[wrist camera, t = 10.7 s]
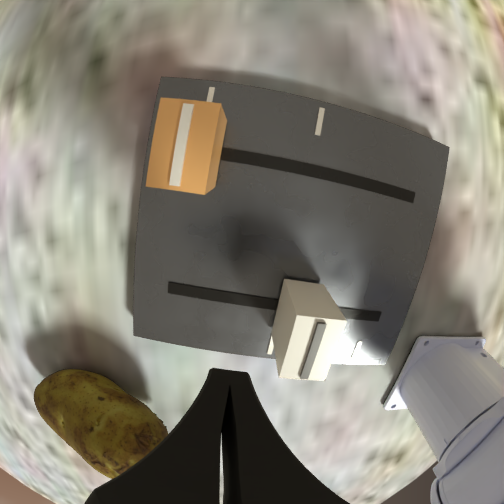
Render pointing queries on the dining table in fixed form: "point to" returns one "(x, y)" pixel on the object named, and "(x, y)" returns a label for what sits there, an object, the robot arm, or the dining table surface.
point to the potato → (98, 419)
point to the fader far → (306, 330)
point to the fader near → (186, 145)
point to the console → (287, 225)
